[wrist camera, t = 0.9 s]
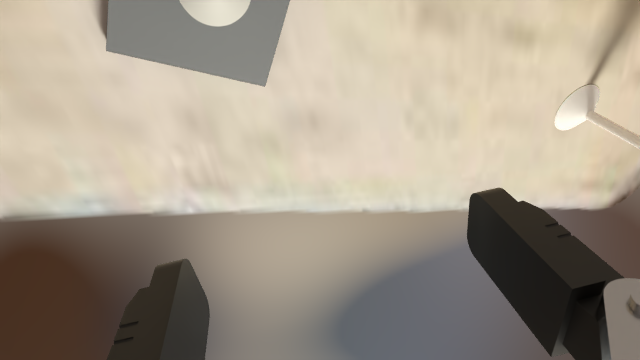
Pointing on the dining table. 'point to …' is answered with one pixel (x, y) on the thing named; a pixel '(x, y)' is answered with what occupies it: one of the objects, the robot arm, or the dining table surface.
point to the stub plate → (200, 34)
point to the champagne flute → (589, 114)
